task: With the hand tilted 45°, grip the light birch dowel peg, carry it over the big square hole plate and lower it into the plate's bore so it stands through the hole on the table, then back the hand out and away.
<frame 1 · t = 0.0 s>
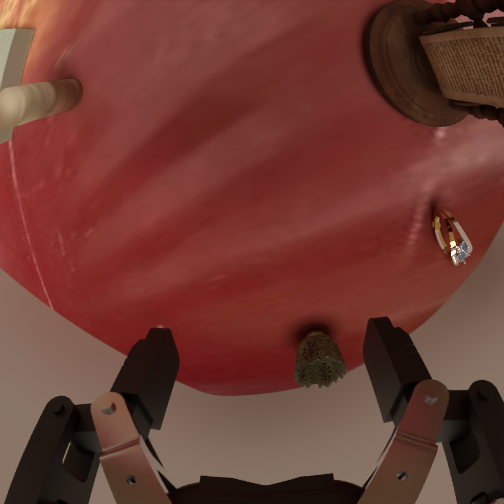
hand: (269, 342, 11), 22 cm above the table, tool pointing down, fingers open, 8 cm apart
scroll: (420, 61, 22), on the table
ring: (433, 222, 32), on the table
birch peg: (69, 94, 24), on the table
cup: (314, 333, 43), on the table
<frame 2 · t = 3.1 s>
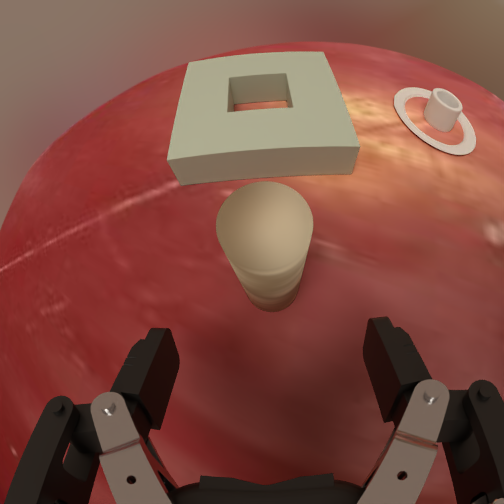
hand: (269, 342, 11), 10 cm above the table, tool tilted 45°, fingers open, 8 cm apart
birch peg: (272, 286, 22), on the table
square hole plate: (261, 118, 28), on the table
candle holder: (435, 122, 28), on the table
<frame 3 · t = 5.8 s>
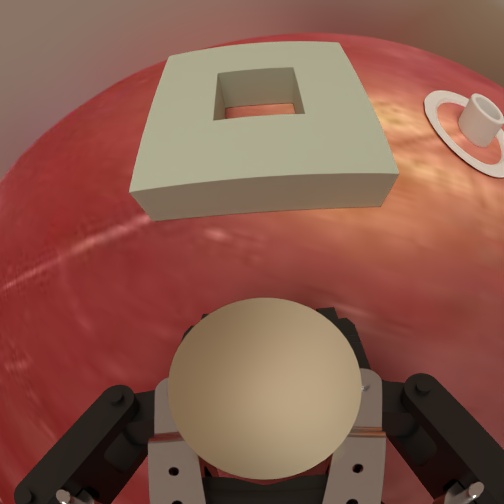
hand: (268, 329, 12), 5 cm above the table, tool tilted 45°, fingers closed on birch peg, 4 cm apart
birch peg: (273, 369, 15), on the table, touching gripper
square hole plate: (260, 127, 22), on the table
candle holder: (470, 134, 21), on the table
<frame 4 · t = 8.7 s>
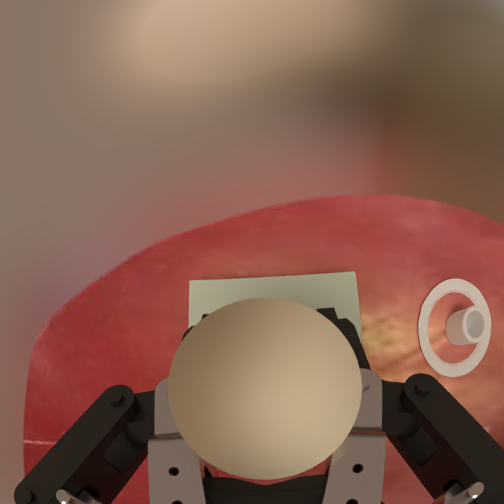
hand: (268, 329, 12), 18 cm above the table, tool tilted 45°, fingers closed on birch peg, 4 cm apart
birch peg: (273, 369, 15), point 13 cm above the table, touching gripper
square hole plate: (276, 361, 28), on the table
candle holder: (454, 328, 27), on the table
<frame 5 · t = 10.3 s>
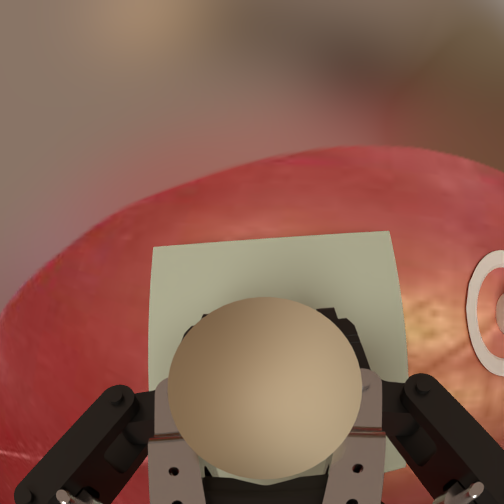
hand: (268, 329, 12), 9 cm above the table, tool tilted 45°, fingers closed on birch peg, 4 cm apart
birch peg: (273, 369, 15), point 4 cm above the table, touching gripper
square hole plate: (278, 365, 19), on the table
when the fingers open (7 cm above the table, at t = 11.5 s): birch peg drops 2 cm, resting in square hole plate.
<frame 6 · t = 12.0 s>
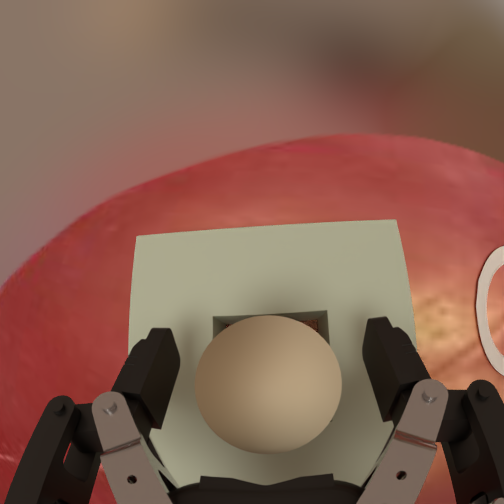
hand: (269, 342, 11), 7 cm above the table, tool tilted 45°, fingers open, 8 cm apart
birch peg: (274, 369, 17), resting in square hole plate
square hole plate: (273, 368, 17), on the table
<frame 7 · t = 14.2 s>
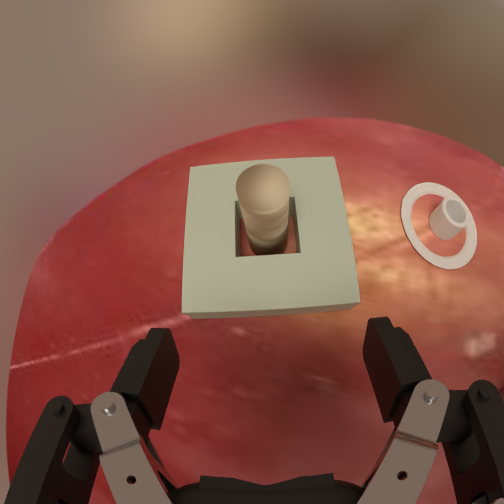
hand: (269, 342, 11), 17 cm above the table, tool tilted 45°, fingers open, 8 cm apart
birch peg: (268, 242, 31), resting in square hole plate
square hole plate: (267, 241, 31), on the table
candle holder: (439, 226, 30), on the table
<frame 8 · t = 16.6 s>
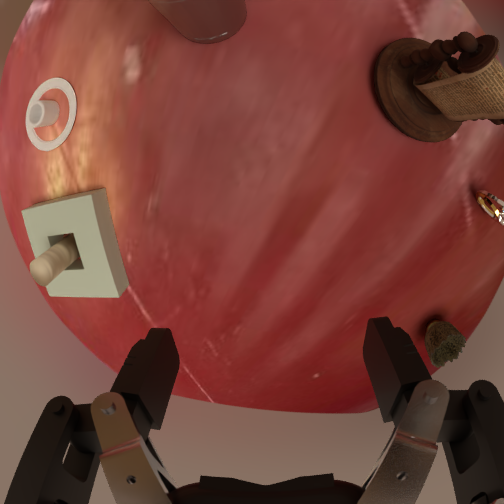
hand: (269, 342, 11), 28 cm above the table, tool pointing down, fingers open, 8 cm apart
scroll: (416, 90, 29), on the table
ring: (478, 200, 35), on the table
birch peg: (78, 242, 41), resting in square hole plate
square hole plate: (78, 242, 41), on the table
candle holder: (52, 113, 33), on the table
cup: (431, 324, 45), on the table
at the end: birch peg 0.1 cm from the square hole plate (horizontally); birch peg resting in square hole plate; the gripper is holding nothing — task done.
